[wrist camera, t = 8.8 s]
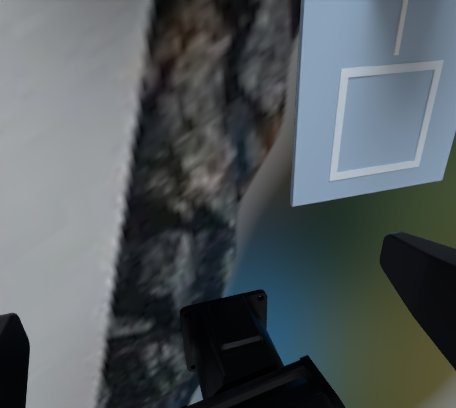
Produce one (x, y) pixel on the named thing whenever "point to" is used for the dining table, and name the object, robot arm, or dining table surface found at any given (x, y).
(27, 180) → the dining table surface
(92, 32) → the dining table surface
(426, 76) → the blueprint sheet
